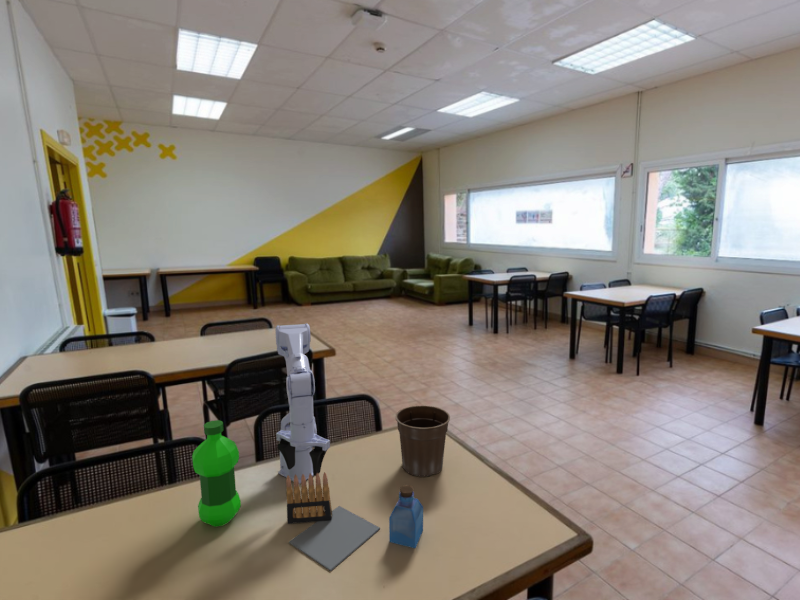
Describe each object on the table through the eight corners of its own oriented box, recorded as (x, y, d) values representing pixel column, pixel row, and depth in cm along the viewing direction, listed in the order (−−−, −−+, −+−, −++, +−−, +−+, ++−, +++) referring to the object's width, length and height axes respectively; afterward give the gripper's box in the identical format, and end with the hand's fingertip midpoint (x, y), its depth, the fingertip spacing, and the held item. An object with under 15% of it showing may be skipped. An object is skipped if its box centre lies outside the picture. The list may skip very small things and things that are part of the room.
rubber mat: (289, 543, 97) (288, 541, 97) (339, 507, 110) (339, 505, 110) (330, 571, 89) (330, 569, 89) (379, 529, 102) (379, 527, 102)
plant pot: (399, 450, 138) (399, 403, 136) (449, 454, 136) (450, 406, 133) (391, 479, 122) (391, 426, 120) (448, 483, 120) (449, 429, 118)
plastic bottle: (250, 518, 106) (244, 423, 102) (207, 540, 98) (199, 438, 94) (231, 501, 113) (225, 411, 109) (190, 520, 105) (181, 425, 101)
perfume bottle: (423, 530, 102) (423, 483, 100) (415, 548, 96) (415, 499, 94) (398, 524, 104) (398, 479, 102) (389, 542, 98) (389, 494, 96)
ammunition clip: (332, 515, 106) (329, 469, 105) (331, 520, 104) (328, 473, 103) (289, 519, 106) (284, 473, 104) (287, 523, 104) (283, 477, 102)
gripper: (267, 422, 105) (270, 472, 107) (318, 432, 100) (320, 485, 102) (285, 410, 112) (287, 458, 114) (333, 419, 106) (335, 470, 109)
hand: (304, 470), depth 108 cm, fingers open, 7 cm apart
